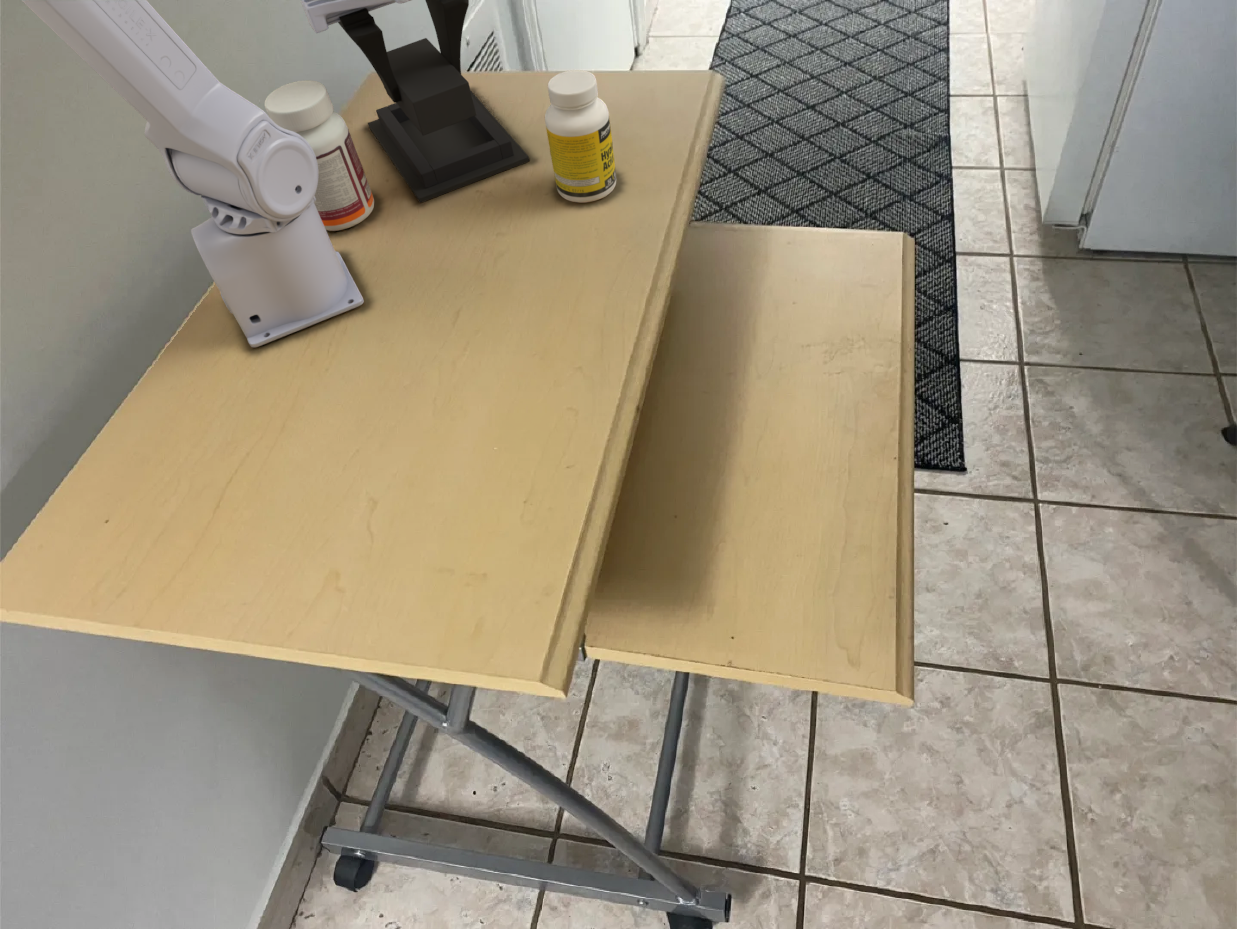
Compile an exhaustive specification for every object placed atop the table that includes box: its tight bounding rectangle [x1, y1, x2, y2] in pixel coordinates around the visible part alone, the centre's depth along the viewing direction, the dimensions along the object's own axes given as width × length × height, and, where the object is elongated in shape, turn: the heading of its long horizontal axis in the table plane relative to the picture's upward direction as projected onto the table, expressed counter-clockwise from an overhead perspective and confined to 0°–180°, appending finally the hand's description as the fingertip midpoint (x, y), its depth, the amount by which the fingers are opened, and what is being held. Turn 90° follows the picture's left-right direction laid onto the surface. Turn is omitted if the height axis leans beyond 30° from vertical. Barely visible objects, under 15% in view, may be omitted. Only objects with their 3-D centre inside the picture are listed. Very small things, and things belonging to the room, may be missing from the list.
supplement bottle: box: [544, 69, 617, 204], centre depth 77 cm, size 5×5×10 cm
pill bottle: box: [264, 79, 375, 232], centre depth 78 cm, size 6×6×11 cm
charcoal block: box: [383, 37, 477, 136], centre depth 78 cm, size 10×5×3 cm, turn 29°
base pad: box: [367, 90, 531, 204], centre depth 87 cm, size 16×11×2 cm
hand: (424, 86), depth 78 cm, fingers closed on charcoal block, 5 cm apart
